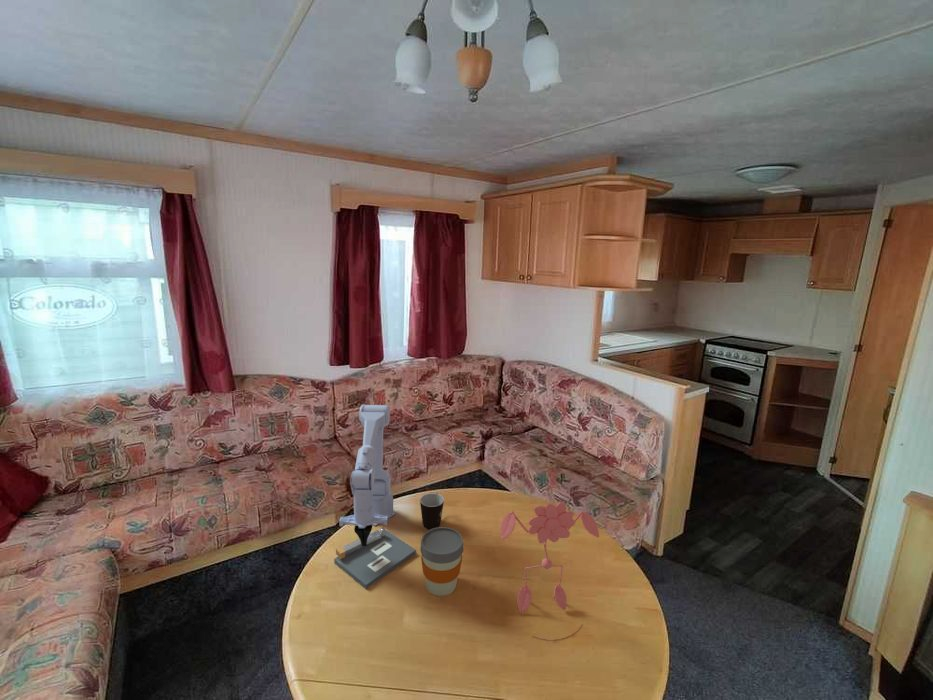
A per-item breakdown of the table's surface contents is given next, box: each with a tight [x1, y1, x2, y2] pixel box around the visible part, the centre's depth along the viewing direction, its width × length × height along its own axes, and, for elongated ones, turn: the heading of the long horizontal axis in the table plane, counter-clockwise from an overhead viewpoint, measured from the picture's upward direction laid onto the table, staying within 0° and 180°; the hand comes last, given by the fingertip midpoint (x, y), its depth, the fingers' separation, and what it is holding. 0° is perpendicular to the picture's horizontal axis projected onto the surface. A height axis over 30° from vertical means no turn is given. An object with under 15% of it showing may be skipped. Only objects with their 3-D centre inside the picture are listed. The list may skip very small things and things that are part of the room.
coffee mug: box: [419, 492, 445, 531], centre depth 152 cm, size 12×9×10 cm
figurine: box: [499, 501, 600, 643], centre depth 110 cm, size 15×26×35 cm, turn 93°
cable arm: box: [335, 529, 382, 559], centre depth 136 cm, size 15×3×2 cm, turn 133°
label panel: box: [333, 527, 417, 590], centre depth 133 cm, size 20×16×4 cm
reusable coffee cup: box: [420, 526, 465, 597], centre depth 123 cm, size 13×13×15 cm
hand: (364, 543), depth 132 cm, fingers closed
